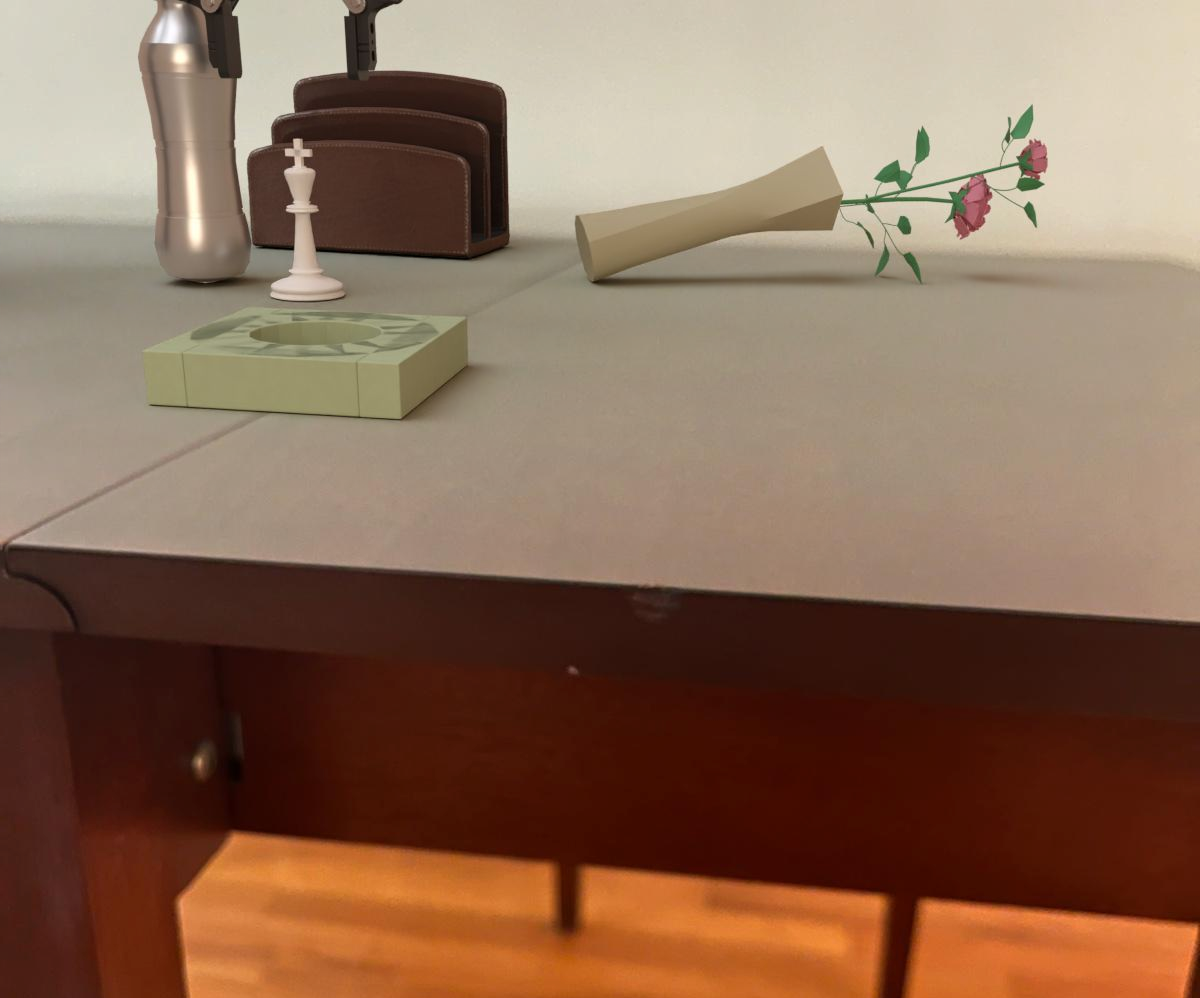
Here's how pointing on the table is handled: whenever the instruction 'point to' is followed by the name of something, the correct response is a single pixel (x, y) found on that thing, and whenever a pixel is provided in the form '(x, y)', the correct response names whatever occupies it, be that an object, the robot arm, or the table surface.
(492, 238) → the letter holder
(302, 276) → the chess piece
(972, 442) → the table surface
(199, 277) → the metallic bottle
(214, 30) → the robot arm
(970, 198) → the flower vase
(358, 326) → the green ashtray
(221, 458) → the table surface
